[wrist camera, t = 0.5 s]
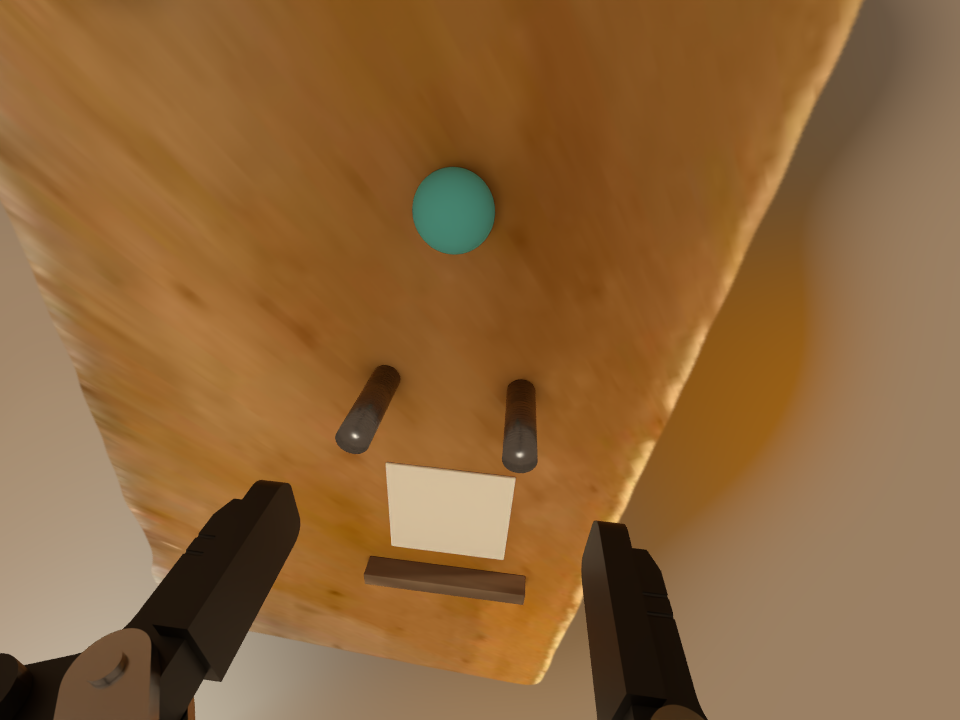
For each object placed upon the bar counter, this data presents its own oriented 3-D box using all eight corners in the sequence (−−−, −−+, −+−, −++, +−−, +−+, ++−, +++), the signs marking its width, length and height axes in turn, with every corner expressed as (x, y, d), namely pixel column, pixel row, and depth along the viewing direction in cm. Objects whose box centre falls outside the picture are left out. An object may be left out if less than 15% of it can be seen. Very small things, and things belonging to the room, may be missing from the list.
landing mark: (386, 461, 45) (385, 463, 44) (515, 477, 44) (515, 478, 44) (392, 544, 52) (391, 545, 52) (503, 558, 51) (503, 560, 51)
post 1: (372, 364, 38) (333, 425, 31) (399, 366, 38) (367, 429, 31) (374, 387, 40) (337, 451, 32) (400, 390, 40) (370, 455, 32)
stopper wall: (370, 556, 53) (363, 574, 51) (525, 576, 52) (525, 595, 50) (371, 565, 54) (365, 583, 52) (523, 585, 53) (523, 604, 51)
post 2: (508, 378, 38) (503, 445, 30) (537, 381, 38) (539, 449, 30) (505, 401, 39) (500, 471, 31) (533, 404, 39) (535, 474, 31)
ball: (422, 160, 29) (401, 168, 25) (500, 166, 29) (495, 175, 24) (422, 239, 32) (404, 260, 27) (494, 245, 32) (488, 268, 27)
